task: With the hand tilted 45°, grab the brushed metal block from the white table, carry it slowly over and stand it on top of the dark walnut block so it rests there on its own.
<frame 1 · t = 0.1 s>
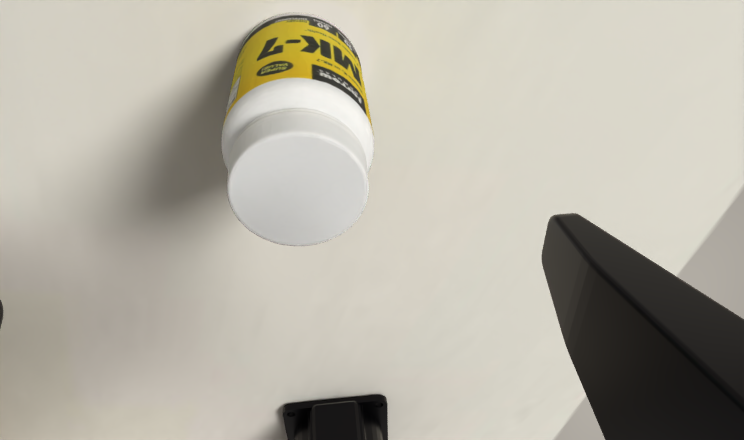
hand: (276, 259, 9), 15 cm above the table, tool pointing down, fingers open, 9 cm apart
supplement bottle: (298, 67, 23), on the table
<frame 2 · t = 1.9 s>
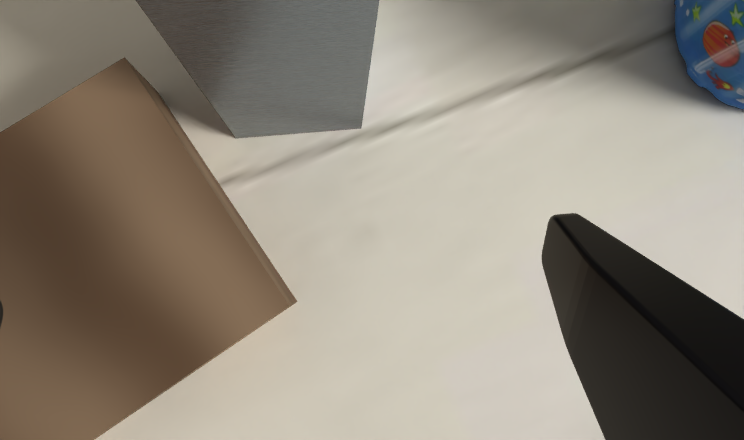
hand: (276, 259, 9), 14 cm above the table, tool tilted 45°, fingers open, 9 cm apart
brushed metal block: (293, 73, 24), on the table
walnut block: (119, 267, 23), on the table
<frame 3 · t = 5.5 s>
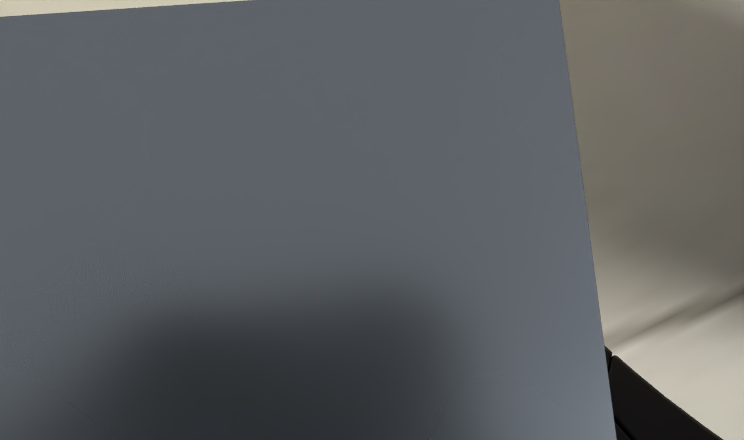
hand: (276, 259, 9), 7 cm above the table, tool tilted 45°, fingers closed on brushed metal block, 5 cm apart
brushed metal block: (306, 322, 16), on the table, touching gripper
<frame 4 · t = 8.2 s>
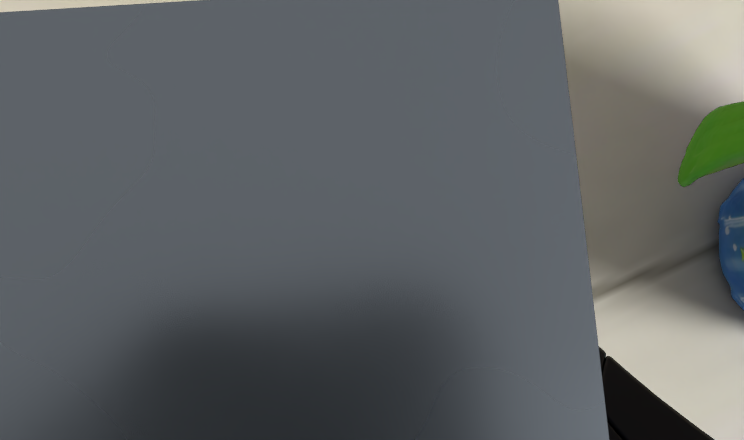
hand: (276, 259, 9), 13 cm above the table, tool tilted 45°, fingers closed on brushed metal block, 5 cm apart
brushed metal block: (314, 321, 16), point 7 cm above the table, touching gripper
when the fingers open (11 cm above the table, at t = 11.1 s): brushed metal block drops 1 cm, resting on walnut block.
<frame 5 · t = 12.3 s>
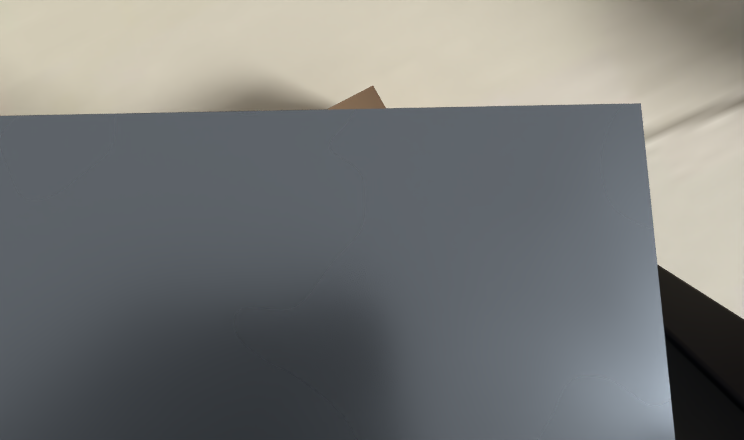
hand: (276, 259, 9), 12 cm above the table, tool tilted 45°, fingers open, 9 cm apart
brushed metal block: (317, 323, 17), point 4 cm above the table, touching walnut block
walnut block: (313, 303, 21), on the table, touching brushed metal block
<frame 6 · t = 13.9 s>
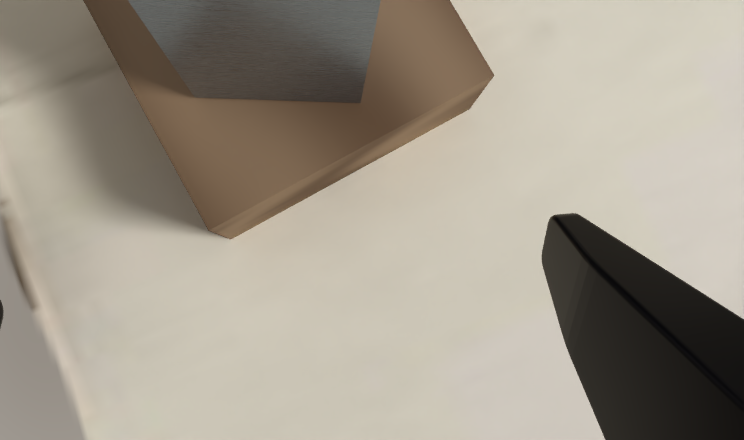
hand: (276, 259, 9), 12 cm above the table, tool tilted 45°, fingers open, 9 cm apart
brushed metal block: (280, 21, 18), point 4 cm above the table
walnut block: (288, 61, 22), on the table
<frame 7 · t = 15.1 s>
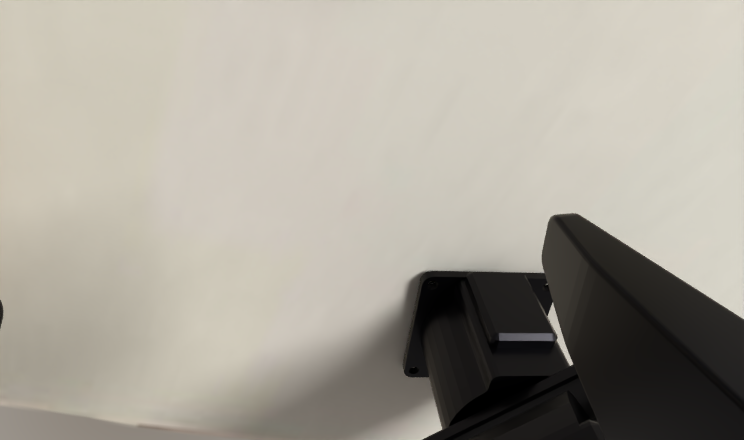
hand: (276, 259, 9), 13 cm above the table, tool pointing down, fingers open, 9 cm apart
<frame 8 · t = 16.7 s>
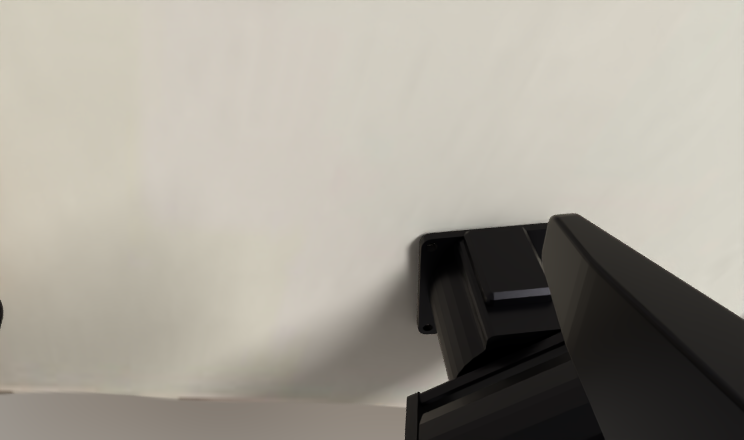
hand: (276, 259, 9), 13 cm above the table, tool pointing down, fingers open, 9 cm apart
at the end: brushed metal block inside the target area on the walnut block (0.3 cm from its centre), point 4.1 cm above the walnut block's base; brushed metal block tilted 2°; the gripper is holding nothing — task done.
